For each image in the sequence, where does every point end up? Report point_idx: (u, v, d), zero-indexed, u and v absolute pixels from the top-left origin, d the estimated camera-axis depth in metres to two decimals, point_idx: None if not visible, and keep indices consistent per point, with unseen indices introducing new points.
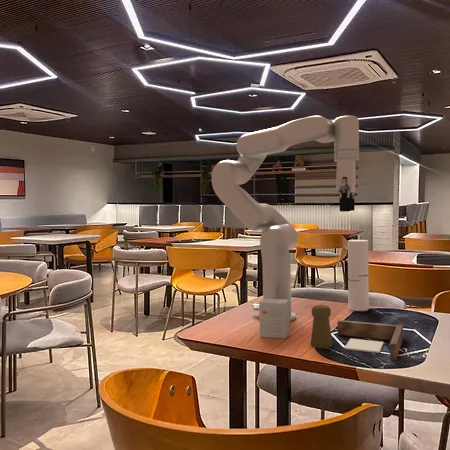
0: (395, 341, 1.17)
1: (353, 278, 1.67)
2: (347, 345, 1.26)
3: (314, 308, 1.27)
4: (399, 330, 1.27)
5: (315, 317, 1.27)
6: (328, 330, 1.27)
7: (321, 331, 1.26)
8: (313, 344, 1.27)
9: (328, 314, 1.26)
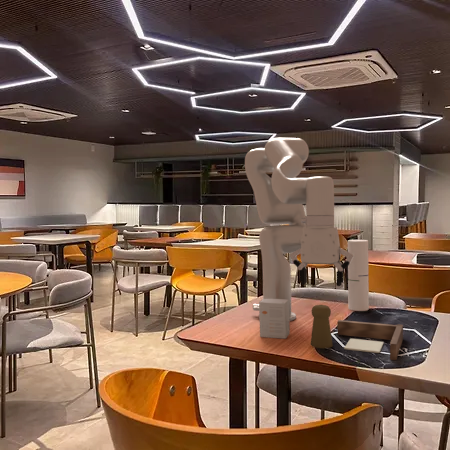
0: (395, 341, 1.17)
1: (353, 278, 1.67)
2: (347, 345, 1.26)
3: (314, 308, 1.27)
4: (399, 330, 1.27)
5: (315, 317, 1.27)
6: (328, 330, 1.27)
7: (321, 331, 1.26)
8: (313, 344, 1.27)
9: (328, 314, 1.26)
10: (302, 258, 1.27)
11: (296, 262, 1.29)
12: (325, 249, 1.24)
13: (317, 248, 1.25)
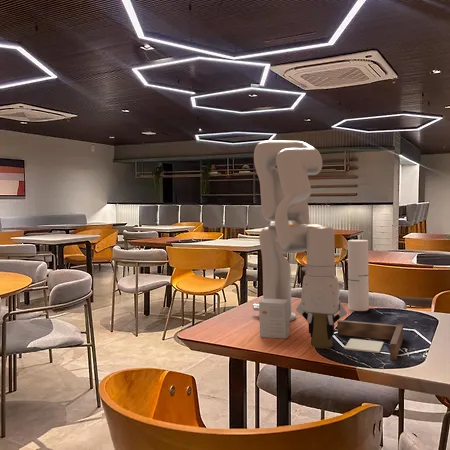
0: (395, 341, 1.17)
1: (353, 278, 1.67)
2: (347, 345, 1.26)
3: None
4: (399, 330, 1.27)
5: (315, 317, 1.27)
6: None
7: (321, 331, 1.26)
8: (313, 344, 1.27)
9: None
10: (302, 307, 1.28)
11: (305, 315, 1.29)
12: (325, 299, 1.25)
13: (317, 298, 1.25)
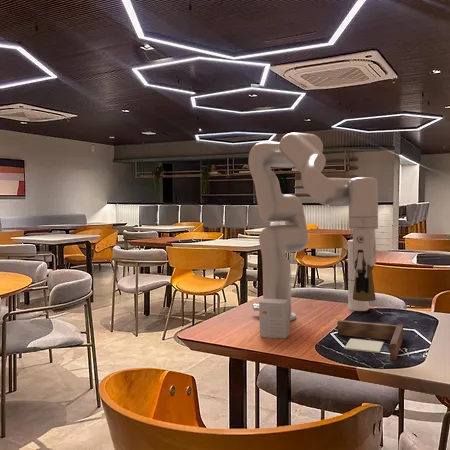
0: (395, 341, 1.17)
1: (353, 278, 1.67)
2: (347, 345, 1.26)
3: None
4: (399, 330, 1.27)
5: (370, 270, 1.24)
6: None
7: None
8: (372, 298, 1.23)
9: None
10: (371, 262, 1.20)
11: (364, 271, 1.21)
12: (375, 249, 1.26)
13: (374, 249, 1.24)
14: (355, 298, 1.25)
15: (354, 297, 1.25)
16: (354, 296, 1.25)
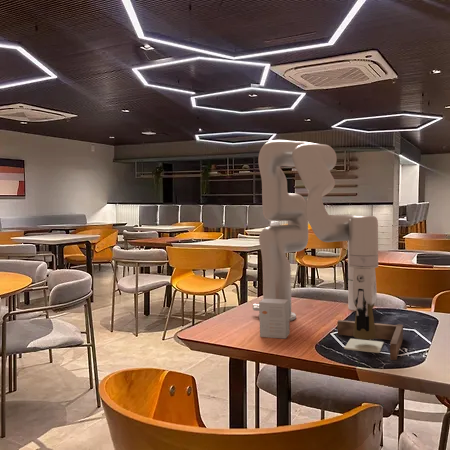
0: (395, 341, 1.17)
1: None
2: (347, 345, 1.26)
3: None
4: (399, 330, 1.27)
5: (370, 308, 1.24)
6: None
7: (373, 320, 1.26)
8: (373, 336, 1.24)
9: None
10: (371, 301, 1.21)
11: (365, 310, 1.22)
12: (375, 287, 1.26)
13: (374, 287, 1.24)
14: (356, 336, 1.25)
15: (355, 335, 1.26)
16: (355, 334, 1.26)
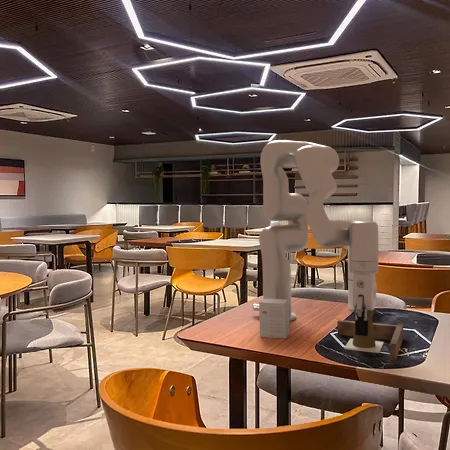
0: (395, 341, 1.17)
1: None
2: (347, 345, 1.26)
3: None
4: (399, 330, 1.27)
5: (370, 317, 1.24)
6: None
7: None
8: (372, 344, 1.24)
9: None
10: (371, 306, 1.21)
11: (363, 314, 1.20)
12: (375, 292, 1.26)
13: (374, 293, 1.24)
14: (355, 344, 1.25)
15: (354, 343, 1.26)
16: (354, 342, 1.26)
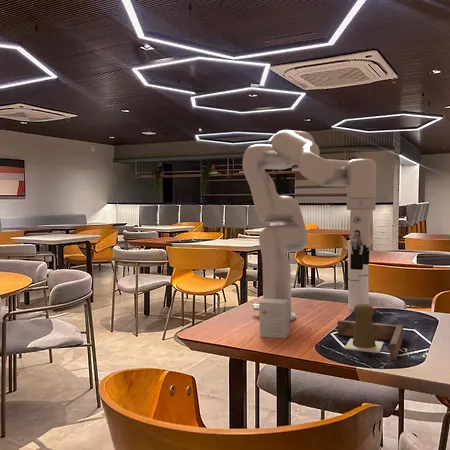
0: (395, 341, 1.17)
1: (353, 278, 1.67)
2: (347, 345, 1.26)
3: (369, 308, 1.24)
4: (399, 330, 1.27)
5: (370, 317, 1.24)
6: None
7: None
8: (372, 344, 1.24)
9: None
10: (367, 242, 1.23)
11: (359, 247, 1.22)
12: (372, 230, 1.28)
13: (371, 230, 1.26)
14: (355, 344, 1.25)
15: (354, 343, 1.26)
16: (354, 342, 1.26)
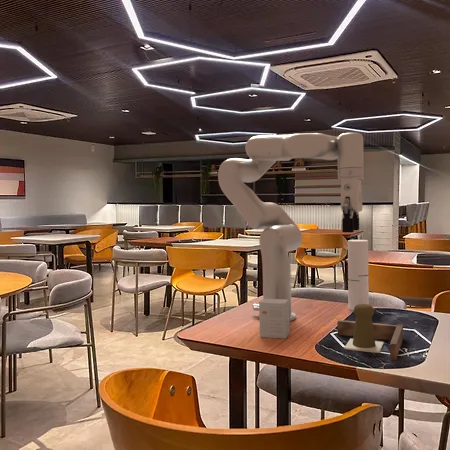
0: (395, 341, 1.17)
1: (353, 278, 1.67)
2: (347, 345, 1.26)
3: (369, 308, 1.24)
4: (399, 330, 1.27)
5: (370, 317, 1.24)
6: None
7: None
8: (372, 344, 1.24)
9: None
10: (357, 207, 1.36)
11: (349, 212, 1.34)
12: (361, 198, 1.41)
13: (360, 197, 1.39)
14: (355, 344, 1.25)
15: (354, 343, 1.26)
16: (354, 342, 1.26)
